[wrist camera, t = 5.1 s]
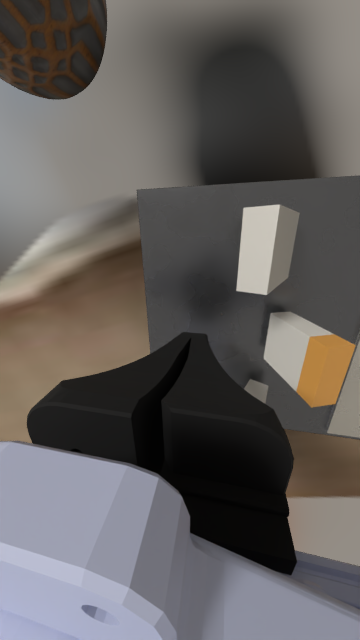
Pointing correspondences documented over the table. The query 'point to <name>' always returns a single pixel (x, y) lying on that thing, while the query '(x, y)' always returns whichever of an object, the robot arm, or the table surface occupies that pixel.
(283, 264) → the white block
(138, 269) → the table surface
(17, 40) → the vase
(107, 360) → the table surface
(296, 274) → the panel
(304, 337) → the orange-white breaker switch
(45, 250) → the table surface
